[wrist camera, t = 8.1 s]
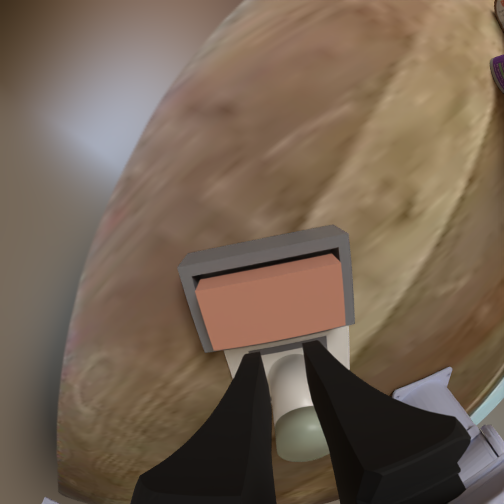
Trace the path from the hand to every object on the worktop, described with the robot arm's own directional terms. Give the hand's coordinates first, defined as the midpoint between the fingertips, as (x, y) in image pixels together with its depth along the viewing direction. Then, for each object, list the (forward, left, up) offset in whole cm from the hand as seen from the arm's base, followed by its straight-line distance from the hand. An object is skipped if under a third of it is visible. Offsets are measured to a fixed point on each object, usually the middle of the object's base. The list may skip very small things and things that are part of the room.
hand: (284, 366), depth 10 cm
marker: (-9, 0, -9) cm, 12 cm away
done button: (0, 0, -7) cm, 7 cm away
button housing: (0, 0, -9) cm, 9 cm away
